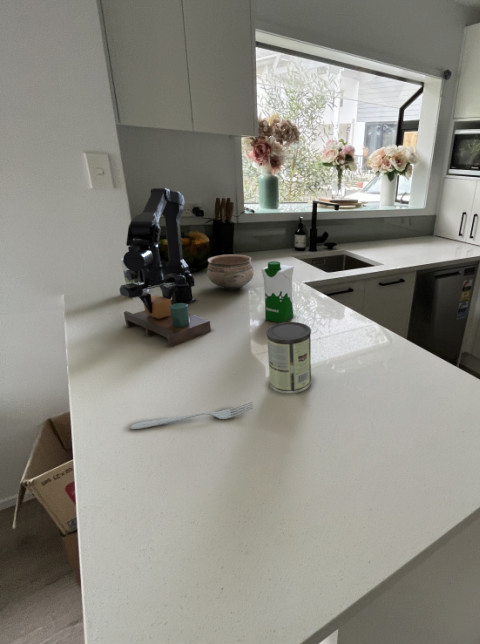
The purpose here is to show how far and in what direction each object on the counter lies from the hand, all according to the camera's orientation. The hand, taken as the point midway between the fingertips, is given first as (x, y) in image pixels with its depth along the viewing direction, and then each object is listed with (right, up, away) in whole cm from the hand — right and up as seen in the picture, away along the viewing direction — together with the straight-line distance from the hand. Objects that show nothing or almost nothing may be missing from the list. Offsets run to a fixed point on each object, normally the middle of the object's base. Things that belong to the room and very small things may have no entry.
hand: (158, 310), depth 120 cm
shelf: (+3, -6, 0) cm, 7 cm away
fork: (+27, -24, -41) cm, 55 cm away
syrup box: (-22, +8, +30) cm, 39 cm away
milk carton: (+37, -3, +10) cm, 39 cm away
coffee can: (+46, -19, -27) cm, 56 cm away
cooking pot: (+12, +11, +40) cm, 43 cm away
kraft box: (0, -1, 0) cm, 1 cm away
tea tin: (+9, -4, -5) cm, 12 cm away
